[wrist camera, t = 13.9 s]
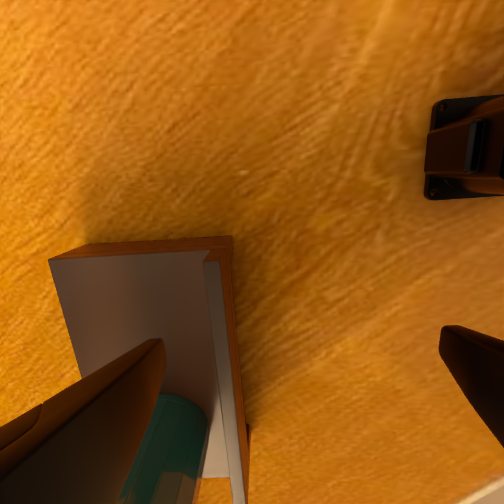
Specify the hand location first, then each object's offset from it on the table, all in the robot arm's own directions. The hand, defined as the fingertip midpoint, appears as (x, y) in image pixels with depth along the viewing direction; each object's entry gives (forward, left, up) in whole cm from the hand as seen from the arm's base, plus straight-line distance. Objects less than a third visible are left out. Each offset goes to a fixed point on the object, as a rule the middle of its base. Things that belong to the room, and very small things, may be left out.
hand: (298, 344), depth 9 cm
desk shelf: (+9, +9, -13) cm, 18 cm away
